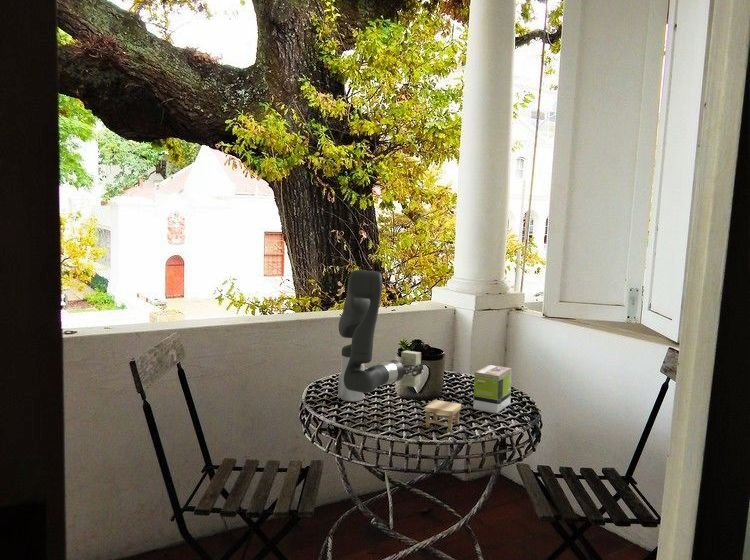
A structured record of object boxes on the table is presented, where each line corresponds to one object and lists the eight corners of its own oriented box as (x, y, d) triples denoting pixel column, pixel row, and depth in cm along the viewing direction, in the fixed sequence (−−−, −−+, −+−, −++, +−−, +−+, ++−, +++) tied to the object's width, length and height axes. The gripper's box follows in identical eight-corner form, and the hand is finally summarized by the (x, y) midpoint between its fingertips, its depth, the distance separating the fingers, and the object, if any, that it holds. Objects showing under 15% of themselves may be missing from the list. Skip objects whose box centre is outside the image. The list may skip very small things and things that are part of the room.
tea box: (486, 400, 256) (488, 363, 255) (510, 404, 251) (513, 367, 250) (472, 409, 244) (474, 370, 242) (497, 414, 238) (499, 375, 237)
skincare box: (420, 385, 234) (422, 352, 233) (414, 387, 230) (416, 354, 229) (404, 382, 237) (406, 349, 236) (399, 384, 234) (401, 351, 233)
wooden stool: (423, 426, 221) (424, 406, 220) (433, 418, 230) (434, 399, 229) (451, 431, 217) (452, 411, 216) (460, 423, 226) (461, 404, 225)
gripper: (406, 365, 217) (431, 358, 231) (372, 358, 225) (398, 351, 239) (405, 387, 218) (430, 378, 231) (371, 379, 226) (397, 371, 240)
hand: (414, 364), depth 235 cm, fingers closed on skincare box, 6 cm apart
